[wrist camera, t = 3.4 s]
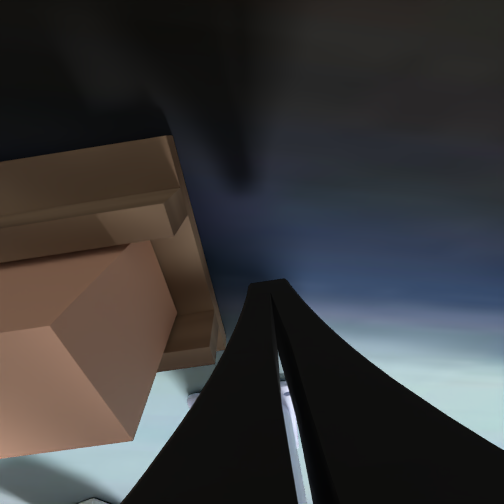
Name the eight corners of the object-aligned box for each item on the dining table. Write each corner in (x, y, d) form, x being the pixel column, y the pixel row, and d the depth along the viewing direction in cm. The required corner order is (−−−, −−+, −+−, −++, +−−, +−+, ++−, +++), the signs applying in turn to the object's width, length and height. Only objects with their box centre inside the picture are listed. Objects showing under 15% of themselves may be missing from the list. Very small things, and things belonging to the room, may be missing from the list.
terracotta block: (177, 312, 13) (132, 440, 7) (70, 327, 13) (-48, 465, 8) (145, 228, 11) (49, 325, 5) (16, 247, 11) (-208, 363, 5)
